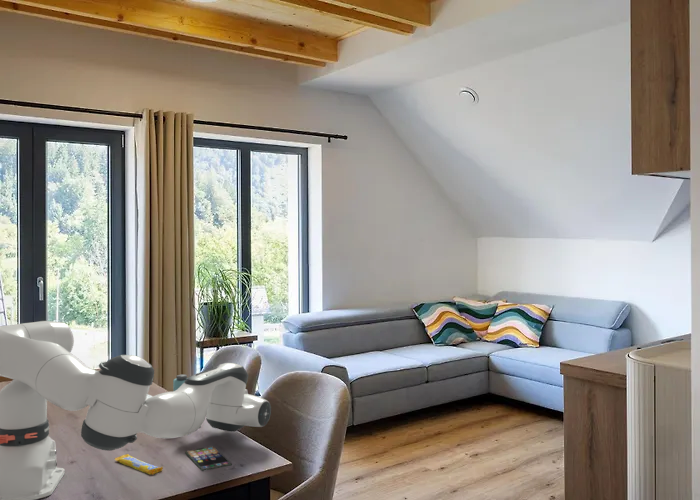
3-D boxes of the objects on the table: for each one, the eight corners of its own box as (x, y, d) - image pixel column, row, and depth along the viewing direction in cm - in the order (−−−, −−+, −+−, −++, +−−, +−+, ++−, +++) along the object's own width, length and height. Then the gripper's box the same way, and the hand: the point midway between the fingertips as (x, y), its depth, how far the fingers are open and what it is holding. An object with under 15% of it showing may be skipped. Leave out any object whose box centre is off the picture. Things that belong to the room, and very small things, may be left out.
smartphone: (202, 472, 165) (201, 468, 165) (185, 455, 178) (185, 450, 178) (231, 466, 169) (231, 462, 169) (213, 450, 182) (213, 445, 182)
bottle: (191, 424, 203) (191, 376, 202) (175, 426, 201) (174, 378, 200) (189, 419, 208) (188, 373, 207) (172, 421, 206) (172, 374, 205)
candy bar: (165, 473, 165) (164, 466, 165) (150, 478, 162) (150, 470, 162) (128, 458, 176) (128, 452, 176) (114, 463, 172) (114, 456, 172)
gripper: (200, 424, 184) (169, 416, 192) (251, 408, 201) (220, 401, 209) (200, 402, 184) (169, 395, 192) (251, 388, 200) (220, 382, 209)
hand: (196, 398), depth 201 cm, fingers open, 8 cm apart
